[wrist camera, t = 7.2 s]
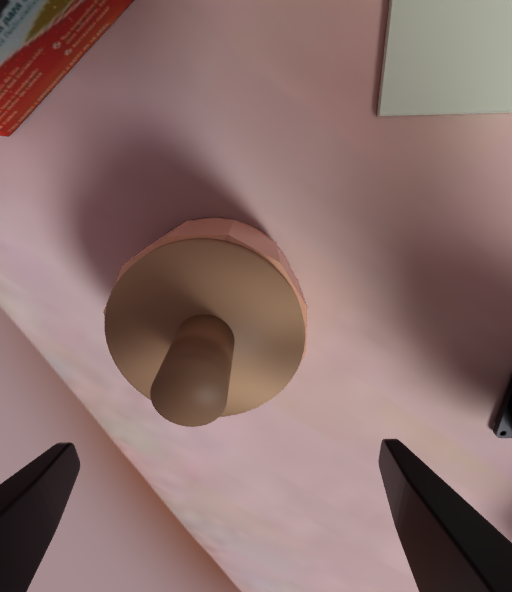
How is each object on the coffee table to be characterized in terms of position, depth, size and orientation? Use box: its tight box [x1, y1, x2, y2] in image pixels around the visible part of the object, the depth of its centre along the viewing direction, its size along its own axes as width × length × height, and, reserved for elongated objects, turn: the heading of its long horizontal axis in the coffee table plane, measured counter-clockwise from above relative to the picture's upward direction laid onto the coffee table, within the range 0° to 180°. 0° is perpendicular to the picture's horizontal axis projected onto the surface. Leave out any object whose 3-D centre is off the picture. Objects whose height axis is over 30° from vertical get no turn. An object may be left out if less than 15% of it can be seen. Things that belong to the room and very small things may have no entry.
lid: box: [105, 238, 305, 427], centre depth 14 cm, size 10×10×5 cm
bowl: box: [104, 217, 307, 360], centre depth 18 cm, size 10×10×5 cm
